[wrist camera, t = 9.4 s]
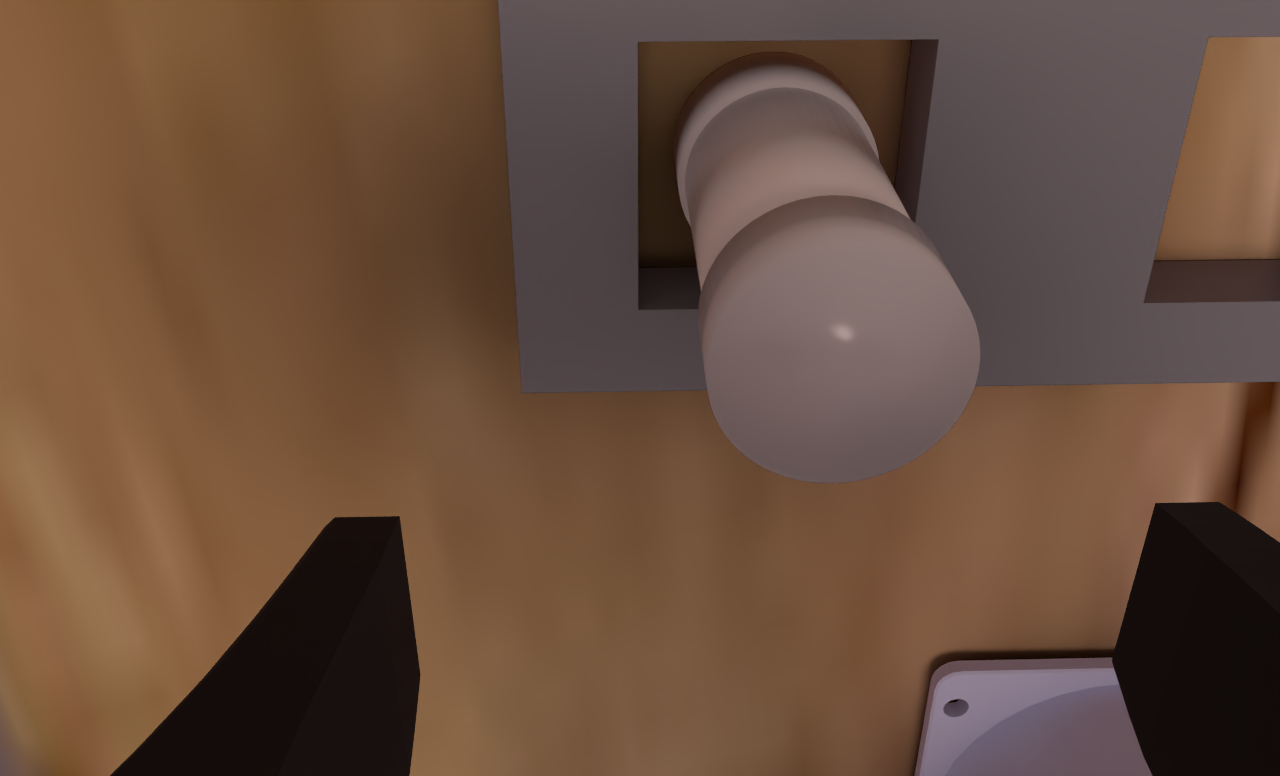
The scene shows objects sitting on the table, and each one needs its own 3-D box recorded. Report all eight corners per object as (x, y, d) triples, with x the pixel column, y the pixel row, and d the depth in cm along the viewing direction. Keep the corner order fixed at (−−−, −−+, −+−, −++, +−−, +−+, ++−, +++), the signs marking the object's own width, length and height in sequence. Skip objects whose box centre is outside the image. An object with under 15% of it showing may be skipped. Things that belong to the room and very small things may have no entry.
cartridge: (853, 231, 20) (960, 480, 14) (672, 234, 20) (703, 485, 14) (871, 51, 18) (1000, 245, 13) (674, 52, 18) (710, 249, 12)
